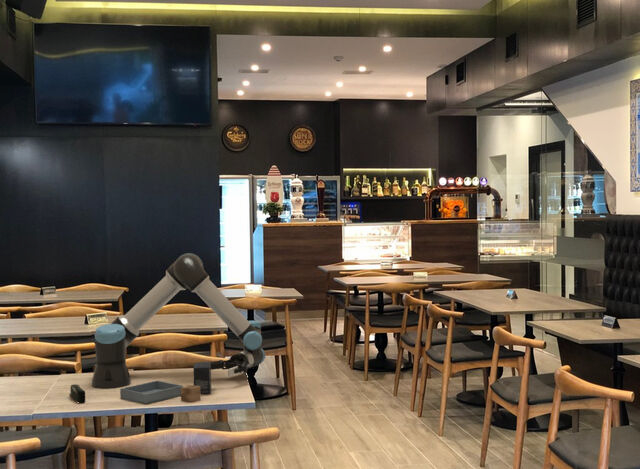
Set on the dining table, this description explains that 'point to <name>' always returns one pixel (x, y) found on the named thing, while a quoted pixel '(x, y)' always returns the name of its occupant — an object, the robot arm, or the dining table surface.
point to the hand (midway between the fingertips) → (213, 371)
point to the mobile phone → (77, 393)
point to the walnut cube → (190, 393)
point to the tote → (151, 392)
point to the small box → (202, 376)
